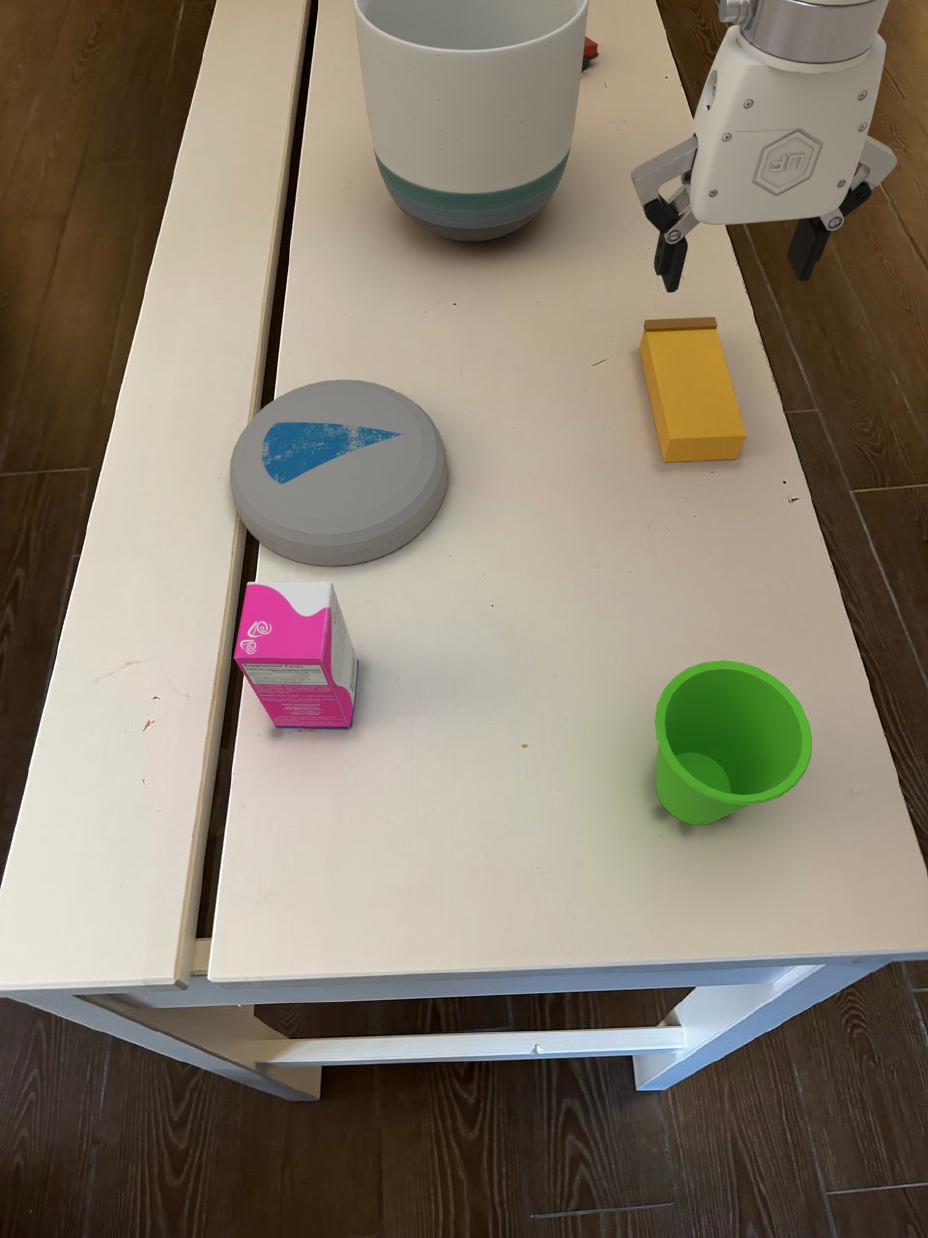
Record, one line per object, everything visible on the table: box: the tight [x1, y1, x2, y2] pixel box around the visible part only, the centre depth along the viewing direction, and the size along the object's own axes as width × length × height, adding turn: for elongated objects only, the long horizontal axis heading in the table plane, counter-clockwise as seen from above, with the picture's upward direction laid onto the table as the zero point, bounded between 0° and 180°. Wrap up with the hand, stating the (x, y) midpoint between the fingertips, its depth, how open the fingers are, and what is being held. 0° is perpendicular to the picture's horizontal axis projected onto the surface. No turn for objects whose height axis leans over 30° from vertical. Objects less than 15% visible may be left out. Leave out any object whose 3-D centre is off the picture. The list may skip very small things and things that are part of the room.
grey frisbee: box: [229, 379, 449, 567], centre depth 71 cm, size 18×18×5 cm
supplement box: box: [233, 581, 359, 730], centre depth 58 cm, size 6×6×12 cm
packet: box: [639, 316, 747, 463], centre depth 75 cm, size 14×6×3 cm, turn 3°
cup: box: [654, 659, 813, 826], centre depth 54 cm, size 9×9×11 cm
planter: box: [352, 0, 590, 242], centre depth 82 cm, size 20×20×21 cm
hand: (732, 274), depth 62 cm, fingers open, 9 cm apart
